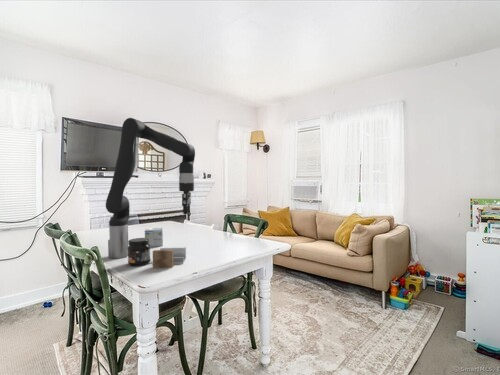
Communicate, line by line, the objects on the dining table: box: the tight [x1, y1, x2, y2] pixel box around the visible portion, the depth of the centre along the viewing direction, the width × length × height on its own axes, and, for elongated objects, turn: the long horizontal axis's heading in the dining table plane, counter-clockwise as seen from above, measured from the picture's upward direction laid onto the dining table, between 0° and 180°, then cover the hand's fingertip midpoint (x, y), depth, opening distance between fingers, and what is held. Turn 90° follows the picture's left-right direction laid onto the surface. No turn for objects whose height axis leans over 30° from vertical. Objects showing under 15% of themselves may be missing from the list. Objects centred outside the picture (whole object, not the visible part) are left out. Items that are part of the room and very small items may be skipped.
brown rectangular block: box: [152, 249, 175, 269], centre depth 131 cm, size 9×3×8 cm, turn 93°
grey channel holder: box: [159, 246, 187, 265], centre depth 139 cm, size 13×9×6 cm
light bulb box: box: [144, 227, 164, 248], centre depth 173 cm, size 11×7×11 cm, turn 108°
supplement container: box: [127, 237, 151, 267], centre depth 137 cm, size 10×10×12 cm
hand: (186, 213), depth 143 cm, fingers open, 8 cm apart
